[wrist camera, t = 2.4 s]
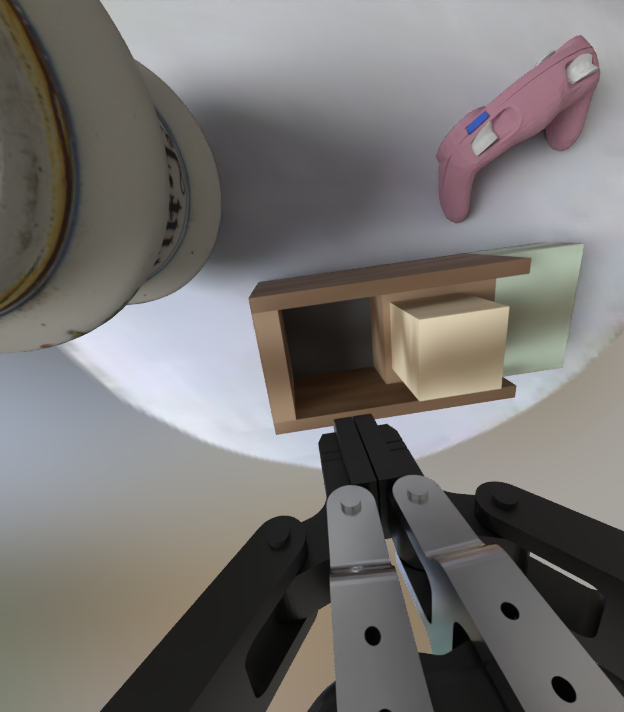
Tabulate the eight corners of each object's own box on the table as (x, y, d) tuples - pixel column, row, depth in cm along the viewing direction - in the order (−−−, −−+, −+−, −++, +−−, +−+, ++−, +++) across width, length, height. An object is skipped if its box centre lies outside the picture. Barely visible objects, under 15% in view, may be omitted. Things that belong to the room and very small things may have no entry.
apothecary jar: (169, 322, 25) (-80, 500, 8) (17, 204, 21) (-1060, 58, 4) (271, 201, 22) (228, 77, 5) (119, 44, 19) (-1453, -1814, 2)
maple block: (389, 302, 21) (419, 319, 17) (460, 292, 21) (509, 306, 17) (392, 368, 23) (419, 401, 18) (457, 358, 23) (501, 388, 19)
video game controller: (531, 102, 23) (601, -12, 16) (571, 149, 22) (662, 52, 15) (414, 187, 24) (432, 116, 17) (449, 233, 24) (483, 179, 17)
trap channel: (258, 282, 24) (248, 298, 17) (539, 242, 25) (630, 243, 18) (278, 388, 27) (275, 434, 21) (525, 350, 28) (598, 384, 21)
